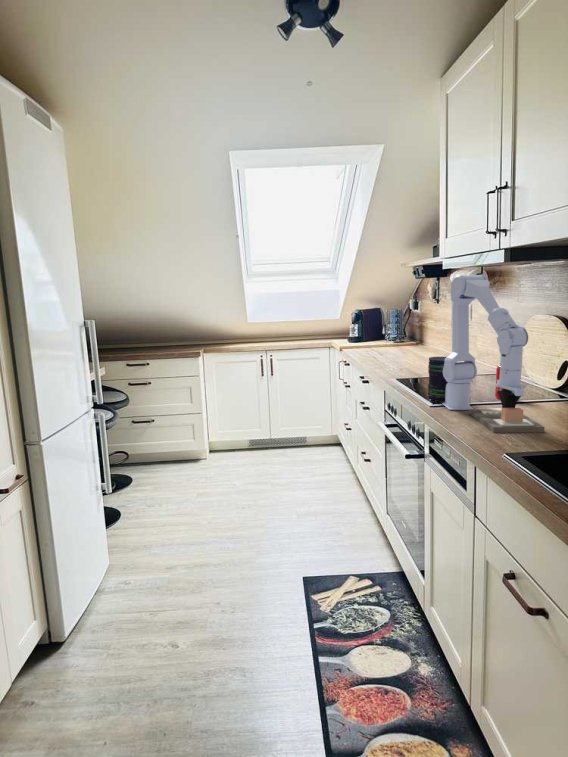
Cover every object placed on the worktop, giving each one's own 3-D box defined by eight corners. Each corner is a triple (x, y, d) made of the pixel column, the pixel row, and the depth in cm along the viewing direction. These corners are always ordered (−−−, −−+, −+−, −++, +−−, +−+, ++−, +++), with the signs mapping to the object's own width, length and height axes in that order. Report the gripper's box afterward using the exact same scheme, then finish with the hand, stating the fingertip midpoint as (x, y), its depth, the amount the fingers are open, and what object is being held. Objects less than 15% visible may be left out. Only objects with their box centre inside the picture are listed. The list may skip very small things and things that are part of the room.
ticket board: (468, 413, 166) (468, 407, 165) (512, 413, 165) (513, 407, 165) (493, 432, 144) (493, 425, 144) (544, 432, 143) (544, 425, 143)
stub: (493, 420, 151) (494, 407, 150) (524, 420, 150) (525, 407, 150) (500, 425, 145) (501, 412, 144) (533, 425, 144) (534, 412, 144)
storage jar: (452, 396, 192) (453, 356, 189) (458, 402, 182) (460, 360, 180) (425, 396, 193) (426, 356, 190) (429, 401, 183) (431, 360, 181)
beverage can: (501, 400, 183) (503, 367, 181) (491, 397, 188) (493, 365, 186) (513, 399, 185) (515, 366, 183) (503, 396, 190) (505, 364, 188)
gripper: (487, 365, 156) (485, 409, 159) (506, 373, 142) (503, 421, 144) (511, 365, 156) (508, 409, 158) (532, 373, 142) (529, 421, 144)
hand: (507, 415), depth 151 cm, fingers closed
